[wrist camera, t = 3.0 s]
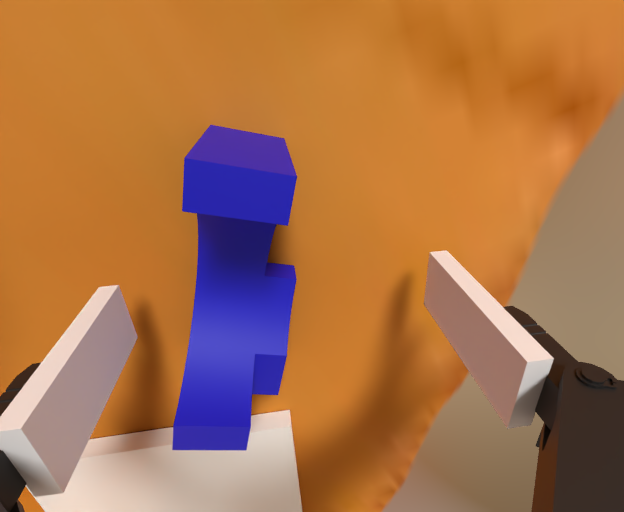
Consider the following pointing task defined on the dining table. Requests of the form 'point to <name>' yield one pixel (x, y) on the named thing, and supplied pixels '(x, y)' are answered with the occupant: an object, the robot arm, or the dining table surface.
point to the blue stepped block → (235, 285)
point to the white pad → (185, 474)
